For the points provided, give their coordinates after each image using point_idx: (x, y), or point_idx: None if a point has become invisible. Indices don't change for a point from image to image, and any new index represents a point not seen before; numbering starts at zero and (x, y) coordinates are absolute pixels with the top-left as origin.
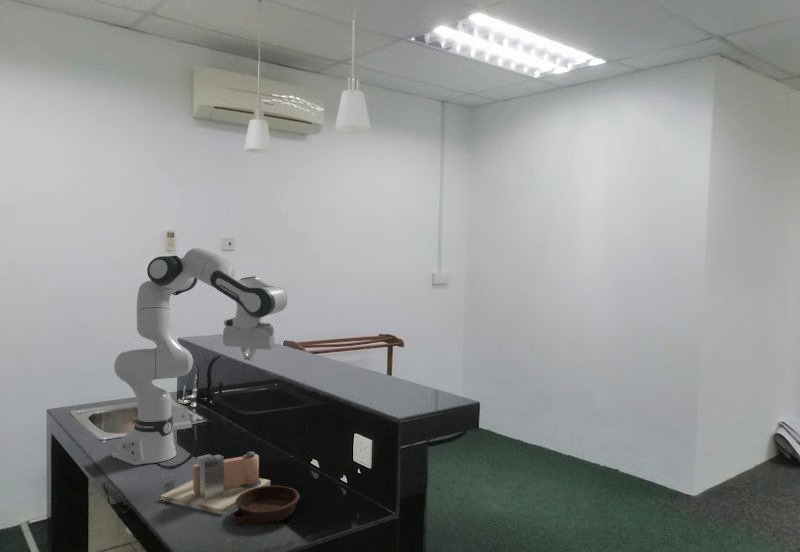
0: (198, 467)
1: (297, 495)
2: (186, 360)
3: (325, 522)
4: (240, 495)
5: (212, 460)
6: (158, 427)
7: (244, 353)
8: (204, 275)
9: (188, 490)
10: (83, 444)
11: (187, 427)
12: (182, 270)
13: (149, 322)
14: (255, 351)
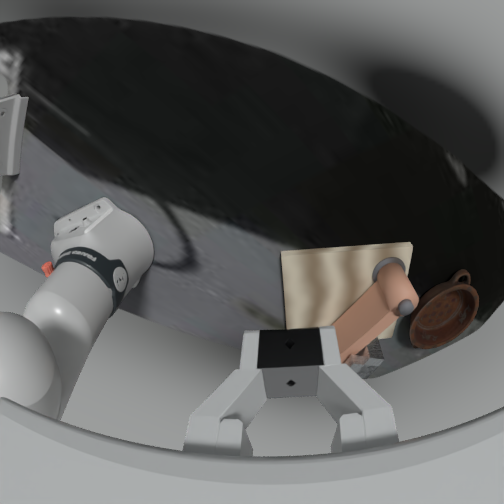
0: (343, 362)
1: (476, 300)
2: (43, 399)
3: (495, 290)
4: (411, 333)
5: (373, 371)
6: (120, 300)
7: (254, 415)
8: None
9: (312, 326)
10: (18, 260)
11: (26, 106)
12: None
13: None
14: (381, 403)
